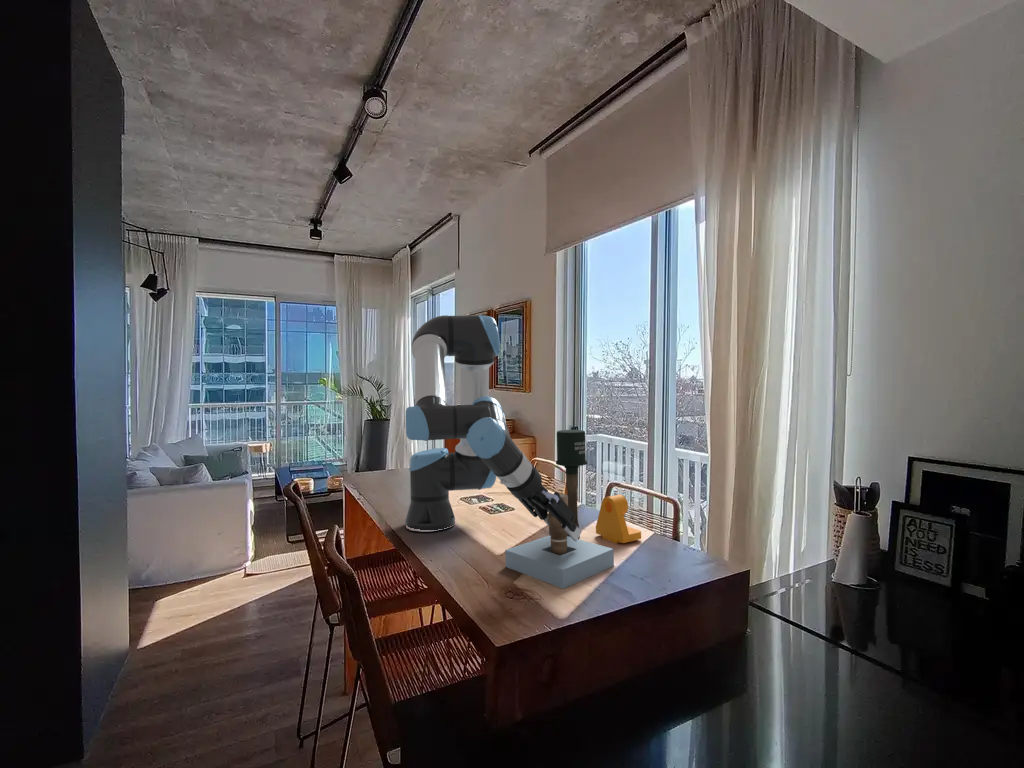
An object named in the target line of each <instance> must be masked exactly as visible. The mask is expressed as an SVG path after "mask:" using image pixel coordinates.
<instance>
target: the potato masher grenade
mask: <svg viewBox="0 0 1024 768" xmlns="http://www.w3.org/2000/svg"><path fill="white" fill-rule="evenodd" d="M586 445H587V444H586V431H585V430H582V429H561V430H557V431H556V459H557V460H555V464H556V465H557V466H561V467H564V468H565V482H566V483H565V485H566V491H567V492H566V495H567V496H568V507H569V508H570V509H571V511H572V512H573V513H574V514H575V516H576V517H575V519H574V521H573V522H574V523H575V524H576V526H577V527H578V528H579V529H580V524H579V519H578V516H579V515H578V513H579V511H578V485H579V484H578V483H579V481H578V480H579V479H578V478H579V477H578V476H579V475H578V473H579V468H580V467H581V466H586V465H588V461H587V452H586V451H587V450H586ZM568 536H569V535H568ZM569 537H570V536H569ZM580 538H581V535H580V536H579V538H578V539H579V540H580Z"/></svg>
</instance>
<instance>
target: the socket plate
mask: <svg viewBox="0 0 1024 768" xmlns="http://www.w3.org/2000/svg"><path fill="white" fill-rule="evenodd" d="M504 553H505V568H508V569H510V570H512V571H513V570H514V571H516V572H519V573H521V574H524V575H525V576H528V577H532V578H534V579H537V580H540V581H543V582H545V583H547V584H550V585H552V586H555V587H558V588H560V589H563V590H565V589H566V588H568V587H570V586H572V585H575V584H577V583H579V582H582V581H584V580H586V579H589V578H590V577H592V576H596V575H597V574H599V573H601V572H603V571H606V570H608V569H611V568H612V567H614V566H615V554H614V548H611V547H608V546H604V545H600V544H597V543H593V542H589V541H587V540H582V539H580V538H579V539H578V540H577V542H576V541H574V540H573V539H572V538H571V537H569V536H567V553H566V554H564V555H561V556H560V555H557V554H554V553H551V536H550V535H549V534H548V535H547V536H544V537H543V536H542V537H540V538H537V539H535V540H531V541H527V542H525V543H522V544H519V545H516V546H513V547H510V548H508V549H505V551H504Z"/></svg>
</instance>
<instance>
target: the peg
mask: <svg viewBox="0 0 1024 768" xmlns="http://www.w3.org/2000/svg"><path fill="white" fill-rule="evenodd" d="M559 494H560V496H561V498H562V500H563V501H564V502H565V503H566V504H567V506H568V496H567V494H565V493H559ZM548 513H549V526H548V536H549V535H550V536H551V553H554V554H557V555H560V556H561V555H564V554H566V553H567V536H568V535H569V534H568V533H567V532H566V531H565V530H564V529H563V528H561V524H562V523H561V522H559V521H558V520H557V519H556V518H555V517H554V516H553V515H552V514H551V513H550V512H549V511H548Z"/></svg>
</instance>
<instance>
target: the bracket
mask: <svg viewBox="0 0 1024 768" xmlns="http://www.w3.org/2000/svg"><path fill="white" fill-rule="evenodd" d="M628 509H629V504H628V500H627V499H626V497H625V496H624V495H622V494H616V495H610V496H605V497H603V498H602V501H601V504H600V509H599V513H598V516H597V520H596V525H595V534H597V535H600V536H601V539H603V540H606V541H608V542H612V543H614V544H617V545H618V544H620V543H622V544H626V543H630V542H634V541H637V540H642V531H641V530H639V529H636V528H634V527H630V526H628V525H627V522H626V518H625V514H626V513H627V512H628Z"/></svg>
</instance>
